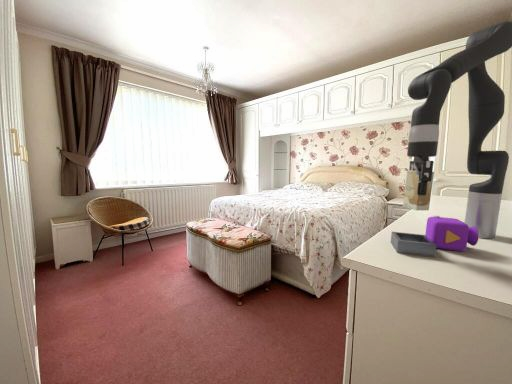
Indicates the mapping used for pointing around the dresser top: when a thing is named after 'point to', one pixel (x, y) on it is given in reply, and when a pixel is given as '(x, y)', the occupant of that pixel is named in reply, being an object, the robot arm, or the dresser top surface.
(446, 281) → the dresser top surface
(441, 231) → the toy camera
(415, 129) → the robot arm
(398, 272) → the dresser top surface
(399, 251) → the tray
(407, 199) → the skincare box
